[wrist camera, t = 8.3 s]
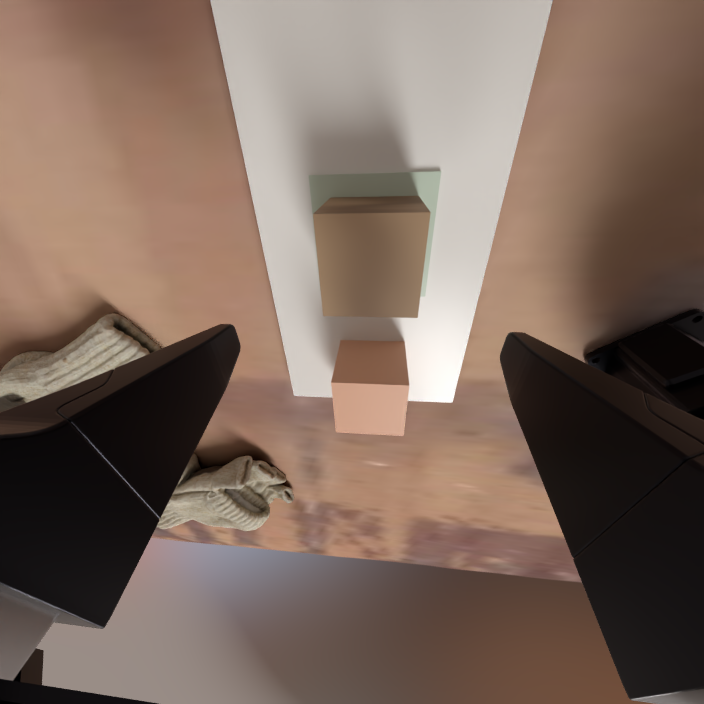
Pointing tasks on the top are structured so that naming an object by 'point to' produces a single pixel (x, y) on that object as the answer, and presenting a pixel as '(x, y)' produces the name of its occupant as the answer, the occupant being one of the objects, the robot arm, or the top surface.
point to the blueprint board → (379, 152)
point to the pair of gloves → (195, 484)
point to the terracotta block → (370, 387)
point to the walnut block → (371, 255)
